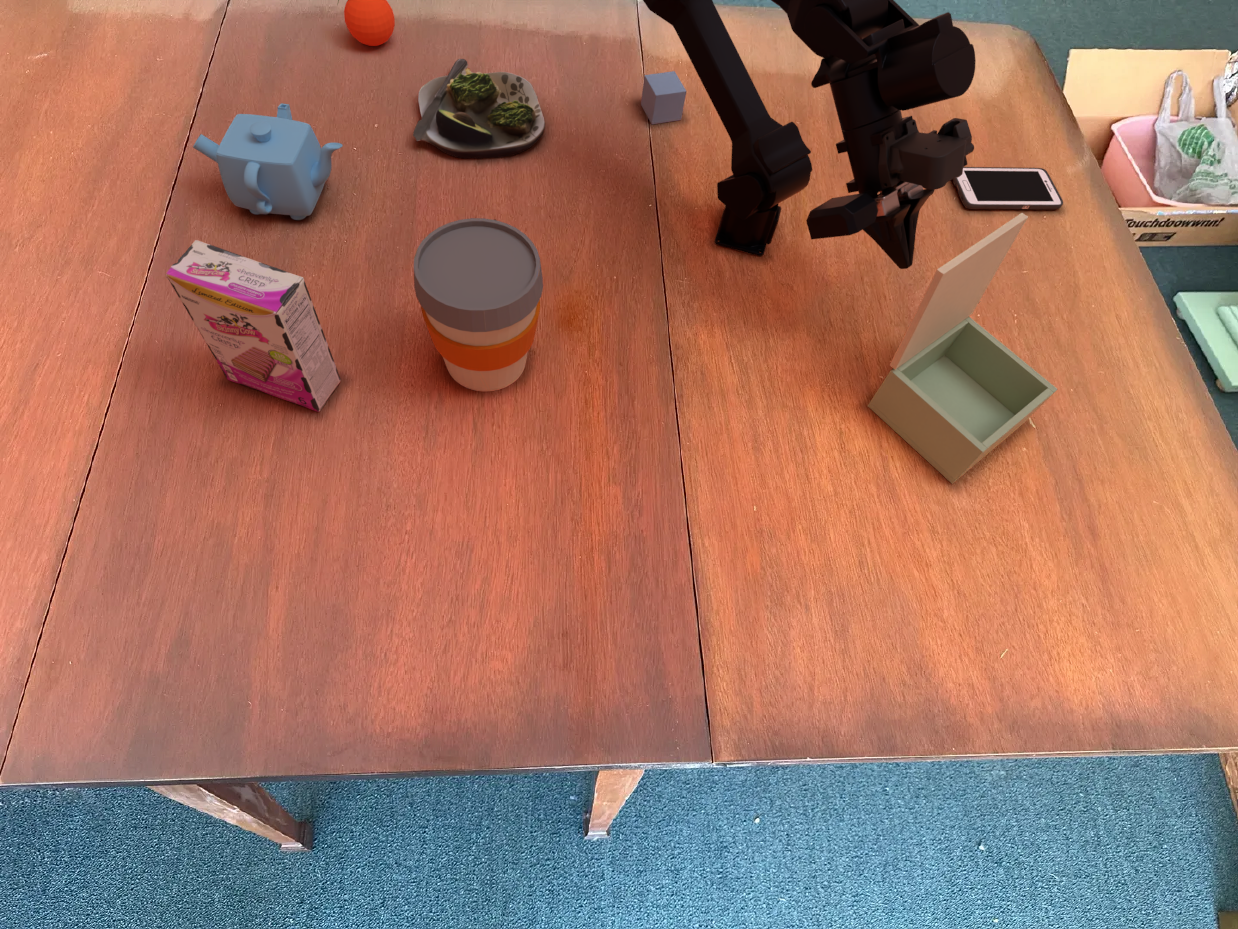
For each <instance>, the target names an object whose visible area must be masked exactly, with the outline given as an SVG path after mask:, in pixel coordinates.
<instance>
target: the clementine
mask: <svg viewBox="0 0 1238 929" xmlns="http://www.w3.org/2000/svg"><path fill="white" fill-rule="evenodd" d="M339 3H340V0H337V4H336V6H338V5H339ZM343 17H344V23H345V26H346V28H347V31H348V32H349V33H350V34H351V36H352V37H353V38H354V39H355V40H356V41H358V42H359V43H360V44H363V45H366V46H369V47H378V46H381V45H383V44H385V43H386V42H388V41H389V40H390V38H391V36H392V35H393V33H394V30H395V26H396V22H395V21H396V20H395V18H396V17H395V13H394V11H393V8H392V7H391V4H390V3H389V2H388V0H347V1H346V2H345V5H344V10H343Z"/></svg>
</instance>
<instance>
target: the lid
mask: <svg viewBox="0 0 1238 929" xmlns="http://www.w3.org/2000/svg"><path fill="white" fill-rule="evenodd" d="M1028 218H1029V216H1028V215H1026V214H1025V213H1023V212H1020V213H1019V214H1018V215H1016V216H1014V217H1013V218H1011V219H1010V220H1009V221H1007V222H1006V223H1004V224H1002V225H1000V227H998V228H996V229H995V230H994V231H992V232H990V233H989V234H988V235H986V236H985V237H983V238H982V239H980V240H979V241H977V242H976V243H974V244H972V245H970V247H968V248H966V249H965V250H963V251H962V252H961V253H959V254H958V255H956V256H955V257H953V258H952V259H950V260H949V261H947V262H945V263H944V264H943V265H941V266H939V267H938V268H937V269H936V270H935V272H934V274H933V277H932V278H931V281H930V282H929V285H928V287H927V288H926V290H925V293H924V294H923V297H922V299H921V301H920V303H919V305H918V306H917V309H916V311H915V313H914V315H913V317H912V319H911V321H910V323H909V325H908V327H907V329H906V331H905V333H904V335H903V337H902V339H901V341H900V343H899V346H898V347H897V350H896V352H895V353H894V355H893V358H892V359H891V361H890V363H889V367H891V369H893V368H894V369H895V370H896V369H897V368H898V367H900V366H901V365H902V364H904V363H905V362H907V361H908V360H909V359H911V358H912V357H914V356H915V355H916V354H918V353H919V352H920V351H922V350H923V349H925V348H926V347H927V346H929V345H930V344H931V343H933V342H934V341H936V340H937V339H938V338H940V337H941V336H943V335H944V334H945V333H947V332H948V331H949V330H951V329H952V328H954V327H955V326H956V325H958V324H959V323H960V322H962V321H963V320H965V319H966V318H967V317H970V316H972V315H973V313H974V312H975V310H976V308H977V307H978V305H979V303H980V301H981V300H982V298H983V296H984V295H985V292H986V291H987V289H988V287H989V286H990V285H991V282H992V281H993V279H994V277H995V275H996V273H997V272H998V270H999V268H1000V267H1001V265H1002V263H1003V262H1004V260H1005V258H1006V256H1007V255H1008V253H1009V251H1010V250H1011V248H1012V246H1013V245H1014V243H1015V241H1016V239H1017V238H1018V236H1019V235H1020V232H1021V230H1022V229H1023V228H1024V225H1025V224H1026V222H1027V220H1028Z"/></svg>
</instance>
